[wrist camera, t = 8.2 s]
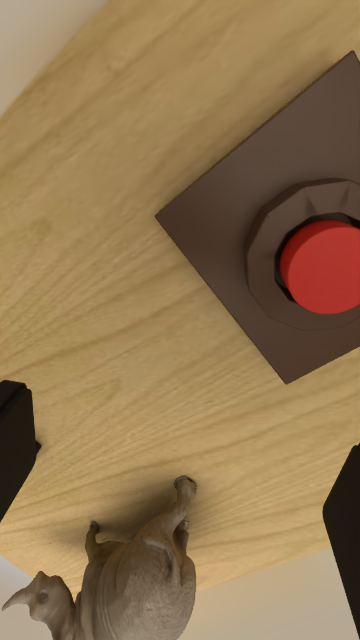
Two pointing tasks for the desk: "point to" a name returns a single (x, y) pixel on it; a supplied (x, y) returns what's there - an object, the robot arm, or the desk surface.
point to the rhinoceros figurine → (124, 584)
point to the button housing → (278, 219)
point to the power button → (323, 266)
